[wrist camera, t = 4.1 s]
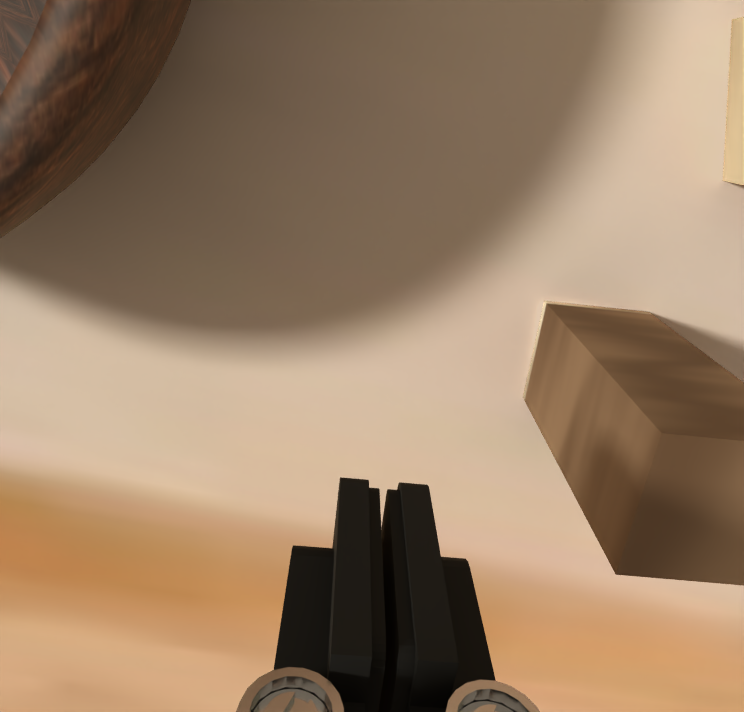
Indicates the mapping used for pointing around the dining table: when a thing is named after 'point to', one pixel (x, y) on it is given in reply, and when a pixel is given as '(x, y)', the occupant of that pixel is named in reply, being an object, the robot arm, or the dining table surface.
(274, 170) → the dining table surface
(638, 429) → the walnut block
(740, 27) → the maple cube
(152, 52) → the wooden bowl
